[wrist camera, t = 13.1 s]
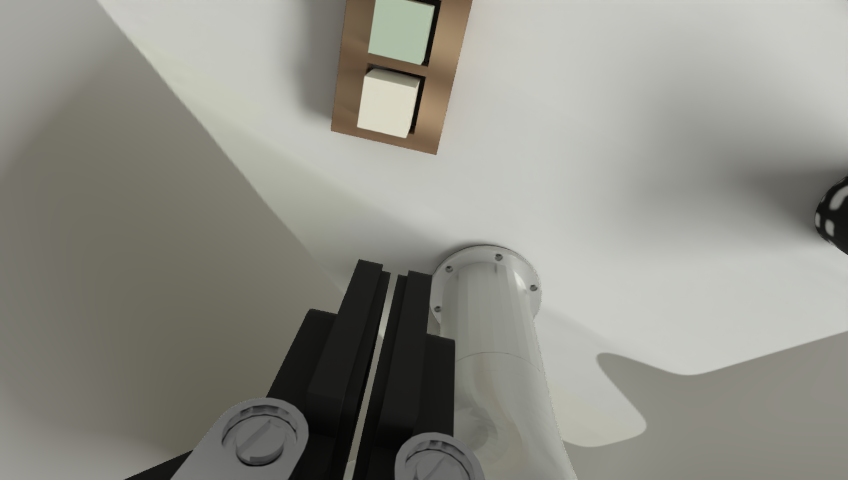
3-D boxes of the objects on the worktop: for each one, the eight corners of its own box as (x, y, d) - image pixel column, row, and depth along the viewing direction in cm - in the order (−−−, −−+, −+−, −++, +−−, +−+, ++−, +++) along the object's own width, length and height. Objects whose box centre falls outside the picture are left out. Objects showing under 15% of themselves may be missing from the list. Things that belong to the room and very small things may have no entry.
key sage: (424, 57, 42) (420, 64, 37) (378, 46, 42) (368, 52, 37) (435, 5, 40) (431, 6, 35) (386, -7, 40) (376, -7, 35)
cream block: (411, 124, 44) (405, 138, 40) (367, 113, 44) (357, 127, 40) (420, 78, 42) (415, 88, 38) (374, 67, 42) (364, 76, 38)
